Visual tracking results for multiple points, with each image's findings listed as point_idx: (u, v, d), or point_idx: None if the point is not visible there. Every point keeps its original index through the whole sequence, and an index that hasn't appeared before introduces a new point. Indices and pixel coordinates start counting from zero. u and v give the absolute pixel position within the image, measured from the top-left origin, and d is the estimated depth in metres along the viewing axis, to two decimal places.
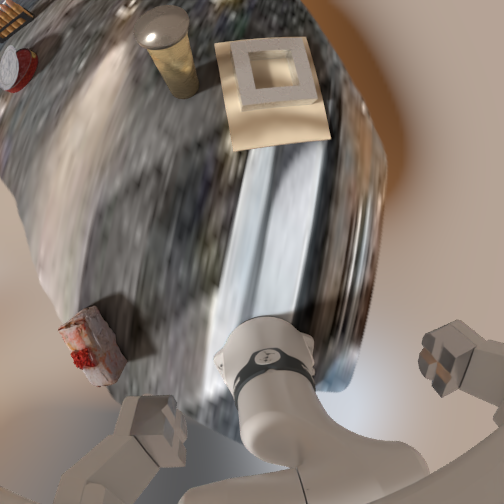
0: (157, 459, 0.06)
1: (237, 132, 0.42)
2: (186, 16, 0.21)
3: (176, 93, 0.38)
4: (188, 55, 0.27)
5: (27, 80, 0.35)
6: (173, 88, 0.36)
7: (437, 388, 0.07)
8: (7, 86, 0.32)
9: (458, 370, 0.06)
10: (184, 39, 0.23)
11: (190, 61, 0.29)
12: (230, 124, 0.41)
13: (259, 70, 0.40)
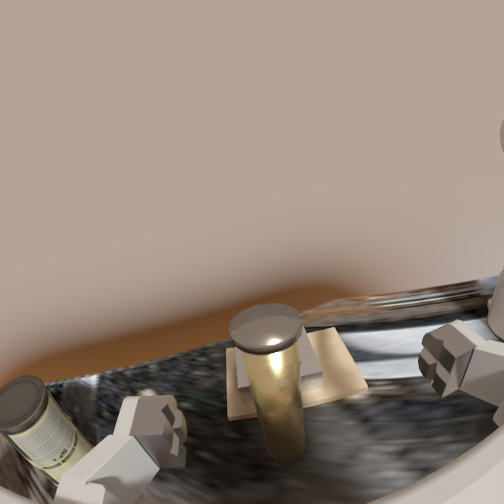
0: (157, 460, 0.06)
1: (346, 386, 0.36)
2: (257, 305, 0.25)
3: (303, 440, 0.27)
4: None
5: None
6: (302, 431, 0.26)
7: (437, 388, 0.07)
8: None
9: (458, 370, 0.06)
10: None
11: None
12: (338, 393, 0.35)
13: None
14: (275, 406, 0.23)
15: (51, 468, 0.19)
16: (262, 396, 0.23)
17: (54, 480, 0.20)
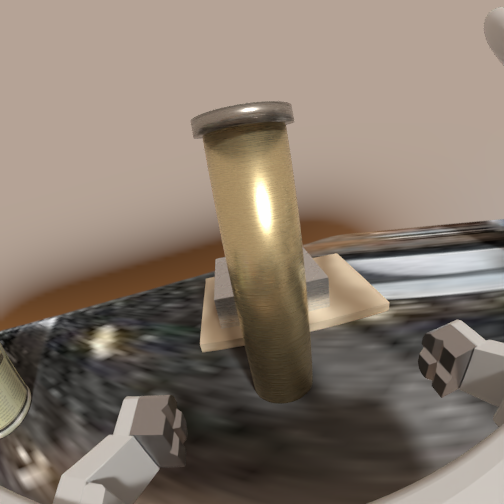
0: (157, 460, 0.06)
1: (361, 304, 0.28)
2: None
3: (310, 362, 0.20)
4: None
5: None
6: (308, 339, 0.19)
7: (437, 388, 0.07)
8: None
9: (458, 370, 0.06)
10: None
11: None
12: (352, 311, 0.28)
13: None
14: (260, 255, 0.15)
15: None
16: (238, 235, 0.15)
17: None
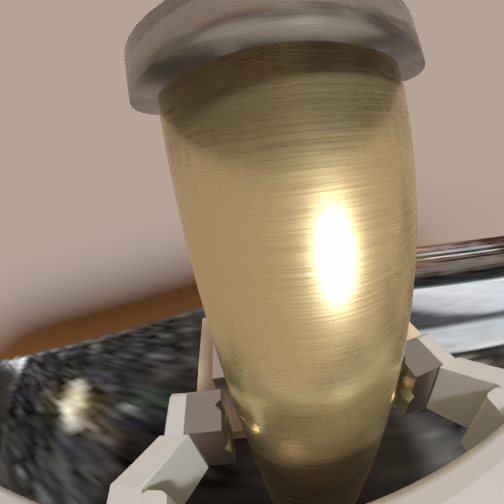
0: (208, 458, 0.06)
1: None
2: None
3: None
4: None
5: None
6: None
7: (401, 406, 0.07)
8: None
9: (422, 389, 0.06)
10: None
11: None
12: None
13: None
14: (323, 433, 0.05)
15: None
16: (269, 397, 0.05)
17: None
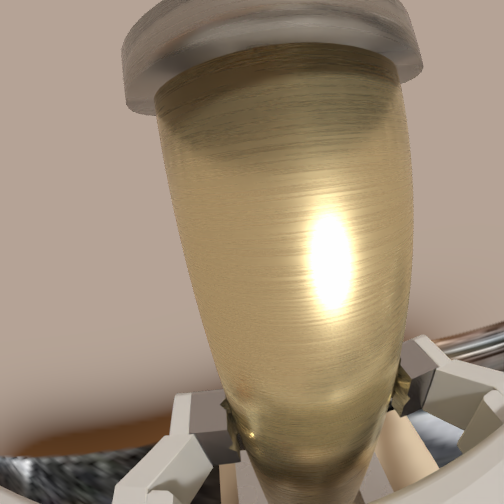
0: (212, 457, 0.06)
1: None
2: None
3: None
4: None
5: None
6: None
7: (396, 408, 0.07)
8: None
9: (417, 391, 0.06)
10: None
11: None
12: None
13: None
14: (318, 436, 0.05)
15: None
16: (263, 400, 0.05)
17: None
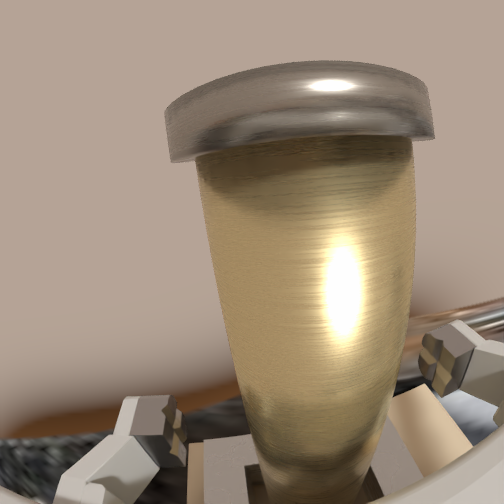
0: (157, 460, 0.06)
1: None
2: None
3: None
4: None
5: None
6: None
7: (437, 388, 0.07)
8: None
9: (458, 370, 0.06)
10: None
11: None
12: None
13: None
14: (327, 445, 0.06)
15: None
16: (284, 415, 0.06)
17: None
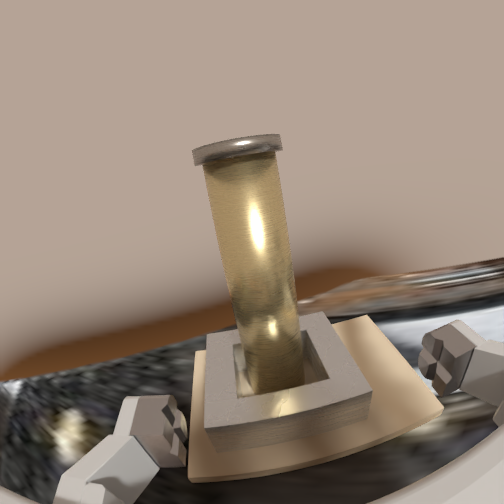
0: (157, 459, 0.06)
1: (409, 413, 0.17)
2: None
3: (302, 363, 0.22)
4: None
5: None
6: (299, 342, 0.21)
7: (437, 388, 0.07)
8: None
9: (458, 370, 0.06)
10: None
11: None
12: (398, 428, 0.16)
13: None
14: (254, 269, 0.18)
15: None
16: (235, 251, 0.18)
17: None
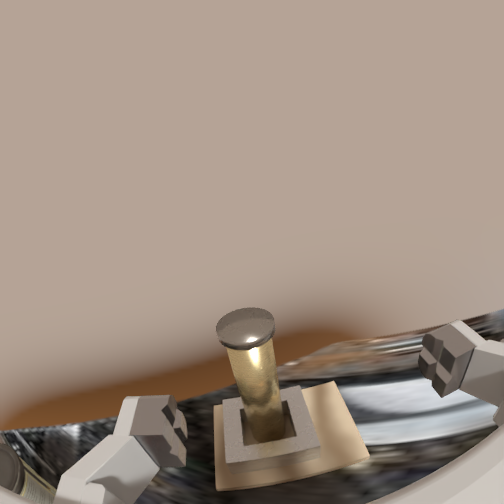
0: (157, 459, 0.06)
1: (346, 456, 0.28)
2: (239, 310, 0.30)
3: (283, 424, 0.33)
4: None
5: None
6: (281, 415, 0.32)
7: (437, 388, 0.07)
8: None
9: (458, 370, 0.06)
10: None
11: None
12: (337, 464, 0.27)
13: None
14: (255, 392, 0.28)
15: None
16: (244, 384, 0.28)
17: None
